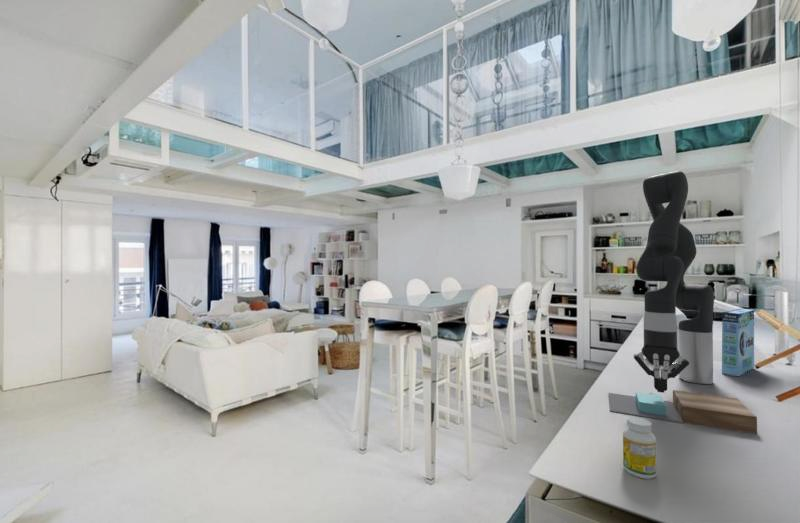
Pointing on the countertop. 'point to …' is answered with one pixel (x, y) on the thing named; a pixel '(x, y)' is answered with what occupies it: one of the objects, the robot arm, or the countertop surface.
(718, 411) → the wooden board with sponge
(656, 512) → the countertop surface
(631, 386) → the countertop surface
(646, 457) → the supplement bottle
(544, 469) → the countertop surface
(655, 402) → the teal foam pad
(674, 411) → the mat
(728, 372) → the gum box
